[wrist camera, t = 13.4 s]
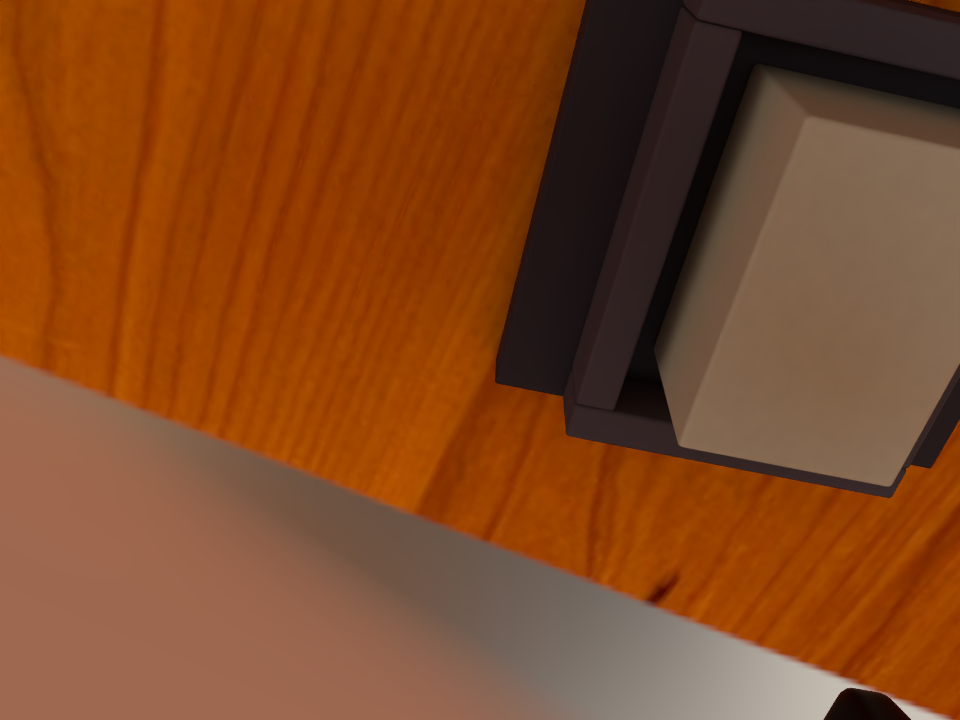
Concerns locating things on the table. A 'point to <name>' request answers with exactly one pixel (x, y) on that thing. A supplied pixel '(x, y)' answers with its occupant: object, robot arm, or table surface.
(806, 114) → the beige block
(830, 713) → the robot arm
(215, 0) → the table surface
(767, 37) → the dark gray square tray
